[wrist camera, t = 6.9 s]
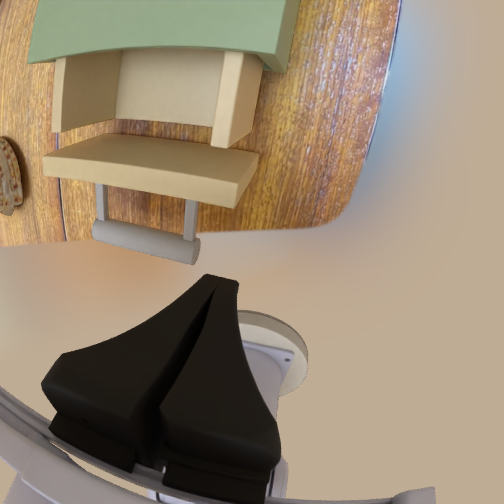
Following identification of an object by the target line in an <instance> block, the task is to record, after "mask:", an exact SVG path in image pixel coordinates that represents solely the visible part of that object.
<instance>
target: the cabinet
mask: <svg viewBox="0 0 504 504" xmlns="http://www.w3.org/2000/svg"><path fill="white" fill-rule="evenodd" d="M299 5H300V0H39V3H38V7H37V11H36V16H35V20H34V25H33V30H32V36H31V41H30V48H29V55H28V63H27V64H36V63H54V62H56V59H60V58H65V57H71V56H77V55H83V54H90V53H98V52H107V51H117V50H131V49H153V48H186V49H208V50H222V51H233V52H242V53H250V54H257V55H258V56H259V57H260V58H261V59H262V60H263V61H264V67H263V70H265V71H271V72H276V73H282V74H286V71H287V66H288V61H289V56H290V51H291V46H292V41H293V36H294V31H295V25H296V20H297V15H298V10H299Z"/></svg>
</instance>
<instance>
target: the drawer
mask: <svg viewBox="0 0 504 504" xmlns="http://www.w3.org/2000/svg"><path fill="white" fill-rule="evenodd" d="M263 67H264V61H263V60H262V59H261V58H260V57H259V56H258V55H257V54H250V53H242V52H233V51H222V50H208V49H186V48H153V49H131V50H117V51H107V52H98V53H90V54H83V55H77V56H71V57H65V58H60V59H56V66H55V75H54V86H53V101H52V133H61V132H65V131H68V130H72V129H75V128H79V127H82V126H86V125H90V124H94V123H98V122H102V121H106V120H111V119H134V120H148V121H160V122H171V123H180V124H189V125H197V126H204V127H212V134H211V141H210V145H208V144H201V143H194V142H187V141H180V140H172V139H163V138H155V137H145V136H134V135H123V134H109V133H106V134H103V135H100V136H96V137H93V138H90V139H87V140H84V141H81V142H78V143H75V144H72V145H70V146H67V147H64V148H61V149H59V150H56V151H53V152H51V153H48V154H46V155H43V156H42V162H43V175H45V176H52V177H59V178H66V179H72V180H79V181H85V182H92V183H95V186H96V207H97V218H96V220H95V221H94V223H93V226H92V237H93V239H94V240H96V241H100V242H104V243H107V244H111V245H115V246H119V247H122V248H127V249H130V250H134V251H138V252H142V253H146V254H150V255H153V256H158V257H161V258H166V259H170V260H174V261H177V262H181V263H186V264H190V265H194V264H195V263H196V261H197V258H198V255H199V251H200V239H199V238H195V237H196V227H197V216H198V206H199V202H203V203H208V204H213V205H217V206H222V207H227V208H232V209H234V208H235V207H236V205H237V203H238V201H239V200H240V198H241V196H242V194H243V193H244V191H245V189H246V187H247V186H248V184H249V182H250V181H251V179H252V177H253V175H254V174H255V172H256V170H257V165H258V159H259V154H258V153H253V152H248V151H243V150H237V149H232V148H229V147H231V146H232V145H233V144H235V143H236V142H237V141H239V140H240V139H242V138H243V137H244V136H246V135H247V134H249V133H251V132H252V126H253V120H254V115H255V109H256V104H257V98H258V93H259V88H260V82H261V77H262V72H263ZM108 185H110V186H116V187H122V188H128V189H134V190H139V191H145V192H150V193H156V194H161V195H167V196H172V197H177V198H182V199H186V204H185V218H184V233H183V235H182V234H177V233H173V232H168V231H164V230H159V229H155V228H151V227H146V226H142V225H137V224H133V223H128V222H124V221H119V220H115V219H110V218H108V217H109V211H108Z"/></svg>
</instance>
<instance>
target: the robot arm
mask: <svg viewBox="0 0 504 504" xmlns="http://www.w3.org/2000/svg"><path fill="white" fill-rule="evenodd" d="M238 287H239V283H238V282H237V281H235V280H231V279H226V278H223V277H218V276H214V275H210V274H205V275H203V276H202V277H201V279H199V280H198V281H197V282H196V283H195V284H194V285H193V286H192V287H191V288H189V290H187V291H186V292H185V293H184V294H182V295H181V296H180V297H179V298H177V299H176V300H175V301H174V302H172V303H171V304H170V305H169V306H167V307H166V308H164V309H163V310H161V311H160V312H159V313H157V314H156V315H154V316H153V317H151V318H150V319H148V320H146V321H145V322H143V323H141V324H140V325H138V326H136V327H134V328H132V329H130V330H128V331H126V332H125V333H122V334H120V335H118V336H116V337H114V338H111V339H109V340H106V341H103V342H101V343H98V344H95V345H92V346H89V347H86V348H83V349H79V350H75V351H71V352H67V353H63V354H62V355H61V356H60V357H59V358H58V359H57V360H56V362H55V363H54V365H53V366H52V367H51V369H50V370H49V372H48V373H47V375H46V376H45V378H44V379H43V381H42V382H41V386H42V390H43V392H44V394H45V395H46V397H47V398H48V400H49V401H50V403H51V404H52V405H53V407H54V408H55V410H56V411H57V413H56V415H55V417H54V419H53V420H52V422H51V421H50V420H48V419H47V418H45V417H43V416H42V415H40V414H39V413H37V412H35V411H34V410H33V409H31V408H30V407H28V406H27V405H25V404H24V403H22V402H21V401H20V400H18V399H16V398H15V397H14V396H13V395H11V394H10V393H9V392H7V391H6V390H5V389H3V388H2V387H1V386H0V458H1V459H2V460H3V461H5V462H6V463H7V464H8V465H9V466H10V467H12V468H13V469H14V470H15V471H17V472H18V473H17V475H16V477H15V479H14V481H13V483H12V485H11V487H10V489H9V491H8V494H7V496H6V498H5V500H4V502H3V504H436V500H435V488H434V487H427V488H422V489H415V490H409V491H406V492H402V493H399V494H397V495H395V496H394V497H393V498H383V499H372V500H371V499H370V500H351V501H321V500H318V501H317V500H300V499H286V498H285V495H286V489H287V481H288V463H287V462H286V461H285V460H284V459H283V457H282V456H281V442H280V436H279V431H278V427H277V422H276V416H277V409H278V400H279V392H280V387H281V385H282V383H283V381H284V379H285V377H286V374H287V372H288V370H289V368H290V366H291V363H292V361H293V359H294V352H293V351H291V350H286V349H281V348H276V347H271V346H266V345H262V344H257V343H253V342H248V341H244V340H242V339H241V334H240V329H239V322H238V313H237V293H238ZM287 358H289V359H287ZM49 441H50V442H52V443H53V444H55V445H57V446H58V447H60V448H62V449H63V450H65V451H67V452H68V453H70V454H72V455H74V456H76V457H78V458H79V459H81V460H83V461H85V462H87V463H89V464H91V465H93V466H95V467H97V468H99V469H101V470H104V471H105V472H108V473H110V474H112V475H114V476H117V477H119V478H121V479H124V480H126V481H129V482H131V483H134V484H136V485H139V486H141V487H144V488H146V489H147V497H144V496H142V495H139V494H137V493H134V492H132V491H129V490H127V489H125V488H122V487H120V486H117V485H115V484H113V483H111V482H108V481H106V480H104V479H102V478H100V477H98V476H96V475H93V474H91V473H89V472H87V471H86V470H85V469H83V468H82V467H80V466H79V465H78V464H76V463H75V462H74V461H73V460H72V459H71V458H70V457H69V456H68V454H66V453H65V452H63V451H62V450H60V449H59V448H57V447H56V446H55V445H53V444H52V443H50V442H49Z"/></svg>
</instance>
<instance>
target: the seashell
mask: <svg viewBox="0 0 504 504" xmlns="http://www.w3.org/2000/svg"><path fill="white" fill-rule="evenodd" d="M20 178H21V176H20V170H19V166H18V162H17V159H16V156H15V154H14V151H13V149H12V148H11V146H10V145H9V143H8V142H7V141H6V140H5V139H4V138H0V213H2V214H4V215H8V216H11V215H12V214H13V211H14V207H15V205H19V204H22V202H23V193H22V186H21V179H20Z"/></svg>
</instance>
